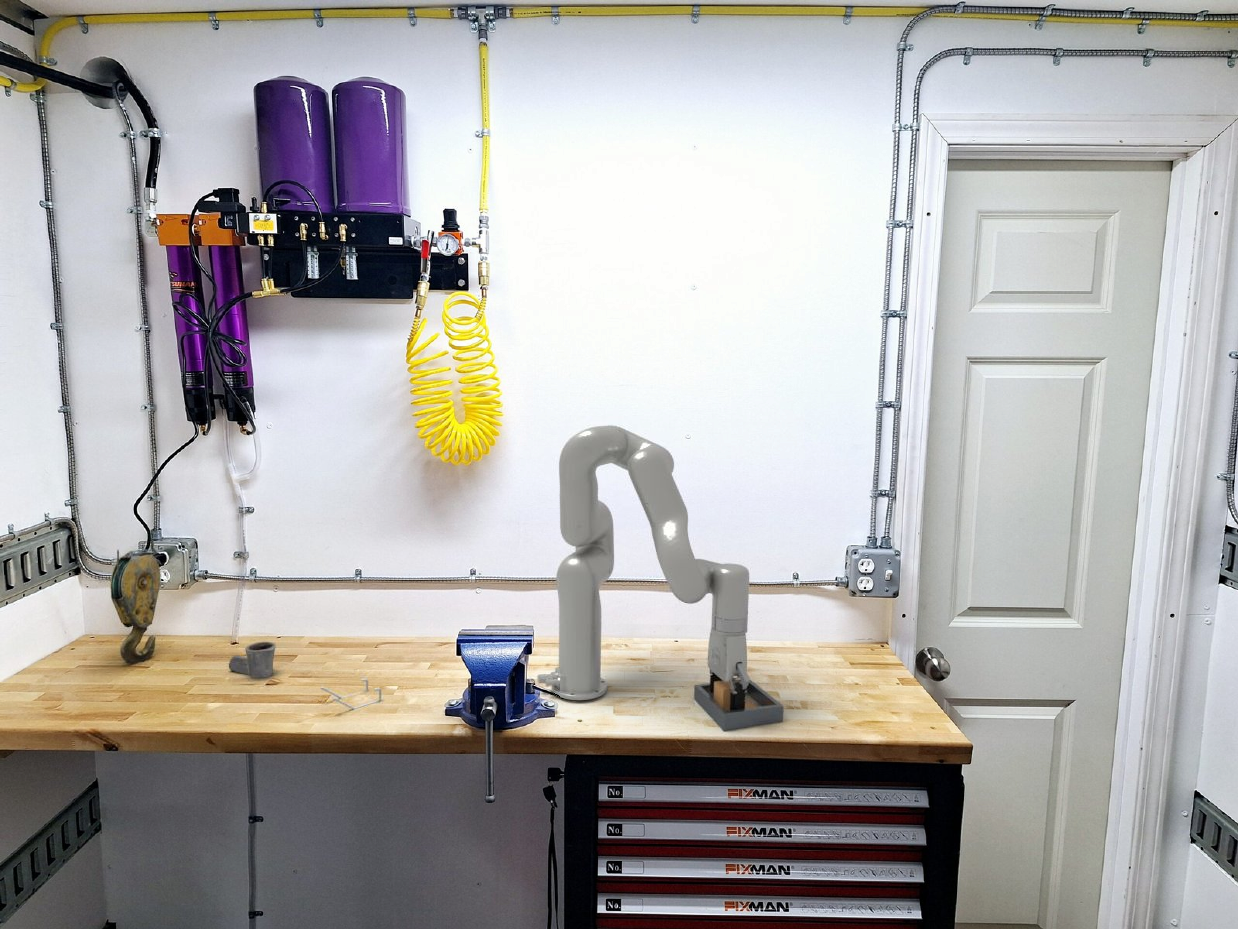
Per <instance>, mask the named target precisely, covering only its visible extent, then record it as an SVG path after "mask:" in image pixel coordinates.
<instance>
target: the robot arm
mask: <svg viewBox="0 0 1238 929" xmlns="http://www.w3.org/2000/svg"><path fill="white" fill-rule="evenodd" d="M608 464H609V465H610V464H612V465H615V466H617V467H620V468H621V469H624V470H625V471H627V474H628V476H629V479H630V481H631V483H632V486H633V488H634V490H635V492H636V494H637V496H638V499H639V501H640V504H641V506H642V508H643V511H644V513H645V516H646V518H647V520H648V522H649V526H650V529H651V536H652V539H653V544H654V545H653V546H654V547H655V548H654V549H655V553H656V556H657V557H656V558H657V559H658V563H659V566H660V569H661V571H662V573H663V575H664V578H665V580H666V582H667V584H668V587H669V589H670V591H671V592H672V594H673V595H674V596H675V598H676V599H677V600H678V601H679V602H682V603H684V604H689V605H692V604H697V603H698V602H701V601H702V600H703V599H704V598H705V597H706V595H707V594H711V595H712V602H711V603H712V604H711V625H710V626H711V629H710V632H709V638H708V649H707V650H708V651H707V667H708V669H709V674H710V675H709V677H710V678H709V683H710V692H711V693H714V682H715V681H724V682H729V681H730V685H731V689H732V693H730V710H738V709H745V702H746V694H745V693H746V692H747V689H748V684H749V681H750V680H751V678H750V676H749V675H748V671H747V670H748V649H747V648H748V647H747V646H748V645H747V643H748V642H747V635H746V634H747V633H748V625H749V624H748V622H749V621H748V620H749V619H748V618H749V616H748V615H749V600H750V599H749V593H750V592H749V591H750V571H749V569H748V568H747V567H746V566H745V565H742V564H737V563H719V562H714V561H711V560H707V559H702V558H695V555H694V553H693V549H692V546H691V543H690V537H689V531H688V526H689V524H688V523H689V512H688V509H687V507H686V504H685V502H684V500H683V497H682V495H681V492H680V491H679V488H678V486H677V484H676V481H675V479H674V475H672V474H673V472H674V468H675V461H674V458H673V455H672V454H671V452H669V450H668V449H666V447H664V446H663V445H660V444H657V443H655V442H653V441H650V440H649V439H646V438H644V437H642V436H640V435H638V434H635V433H633V432H632V431H629V430H627V429H625V428H623V427H620V426H617V425H612V424H611V425H600V426H599V425H597V426H592V427H589V428H585V429H583V430H581V431H579V432H577V433H576V434H574V435H573V436H572V437H571V438H569V439H568V441H566V443H565V444H564V445H563V447H562V449H561V452H560V455H559V462H558V474H559V525H560V526H559V527H560V528H559V529H560V534H561V537H562V538H563V540H564V542H566V544H568V545H570V546H571V547H575V551H574V552H572V553H571V554H569V555H567V556H565V558H564V559H563V560H562V561H561V563H560V565H559V566H558V568H557V571H556V576H555V577H556V590H557V598H558V666H556V667H555V668H554V671H552V672H551V673H547V674H546V673H544V674H543V673H541V674H537V676H536V677H537V683H538V684H544V685H545V687H550V686H551V691H552V693H553V692H554V693H555V694H558V695H559V696H560V697H559V696H558V697H559V698H561V699H562V698H563V699H566V700H572V701H586V700H593V699H597V698H599V697H601V696H604V695H605V693H607V690H608V682H607V681H606V680H605V679H603V678H602V677H601V665H602V664H601V663H602V661H601V660H602V603H601V597H600V586H602V585H603V584H604V583H605V582H607V580H609V579H610V577H611V576H612V574H613V571H614V567H615V543H614V542H615V541H614V538H615V537H614V536H615V534H614V519H613V515H612V512H611V510H610V508H609V507H608V505H606V504H605V502H603V501H601V500H599V484H598V479H597V478H598V477H597V474H596V471H597V468H598V467H600V466H604V465H608ZM735 682H740V684H738V685H737V687H736V685H735ZM554 693H553V694H554ZM555 694H554V695H555Z"/></svg>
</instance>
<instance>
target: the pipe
mask: <svg viewBox="0 0 1238 929" xmlns="http://www.w3.org/2000/svg"><path fill="white" fill-rule="evenodd" d="M276 648H277V644H276V643H275V642H271V641H260V642H259V641H258V642H254V643H251V644H249V645H247V646H246V647H245V649H244V650H245V654H246V657H245V656H242V655H241V656H240V655H238V654H235V655H233V656H232V658H230V661H229V663H228V668H229V670H230V671H232V672H235V673H239V674H243V675H246V676H247V675H248V676H250V678H252V679H257V680H260V679H267V678H268V679H269V678H271V677H272V676H273V675H274V658H275V657H274V656H275V652H276V651H275V650H276Z"/></svg>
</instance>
